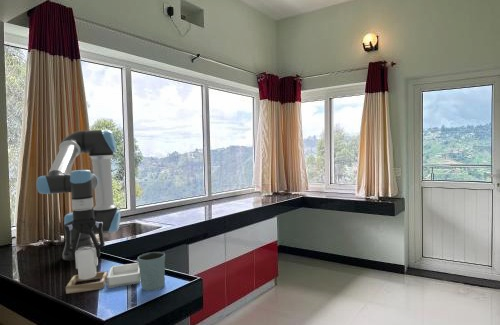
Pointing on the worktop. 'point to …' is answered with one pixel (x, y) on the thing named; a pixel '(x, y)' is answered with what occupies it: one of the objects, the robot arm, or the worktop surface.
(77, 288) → the holder ring
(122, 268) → the tray
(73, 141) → the robot arm
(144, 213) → the worktop surface
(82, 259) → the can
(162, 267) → the grey-green cup
